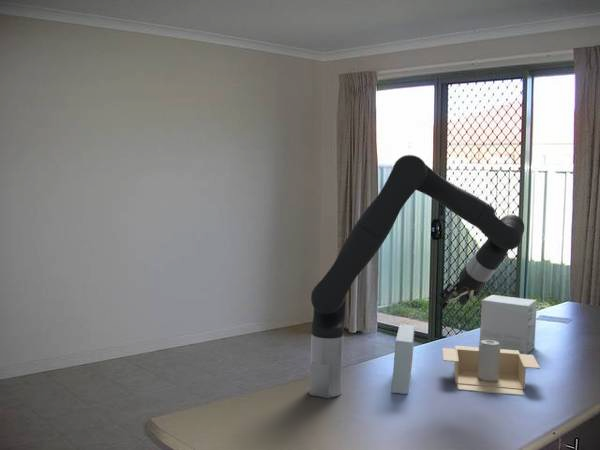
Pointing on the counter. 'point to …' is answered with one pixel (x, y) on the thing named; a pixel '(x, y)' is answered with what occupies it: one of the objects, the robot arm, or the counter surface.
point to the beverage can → (488, 360)
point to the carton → (509, 370)
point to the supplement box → (509, 322)
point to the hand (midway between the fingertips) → (450, 305)
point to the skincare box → (403, 359)
